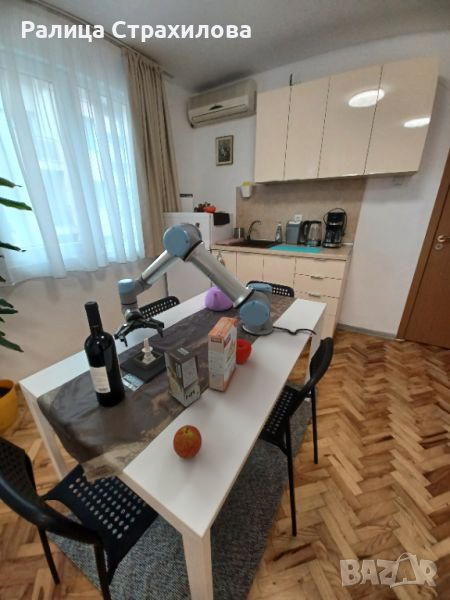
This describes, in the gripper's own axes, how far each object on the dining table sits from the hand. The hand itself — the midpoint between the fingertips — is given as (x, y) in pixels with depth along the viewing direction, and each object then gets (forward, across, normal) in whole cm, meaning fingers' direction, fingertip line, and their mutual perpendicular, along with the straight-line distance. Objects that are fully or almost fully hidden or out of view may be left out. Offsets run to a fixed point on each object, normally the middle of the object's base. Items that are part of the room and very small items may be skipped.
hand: (144, 339), depth 93 cm
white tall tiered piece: (+3, 0, -8) cm, 9 cm away
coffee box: (+26, -6, -9) cm, 28 cm away
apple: (+20, -32, -9) cm, 39 cm away
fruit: (+45, 0, -9) cm, 46 cm away
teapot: (-32, -50, -9) cm, 60 cm away
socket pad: (+3, 0, -9) cm, 10 cm away
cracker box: (+25, -21, -9) cm, 34 cm away
